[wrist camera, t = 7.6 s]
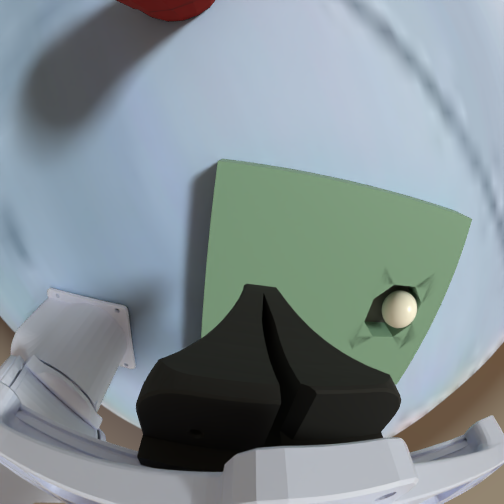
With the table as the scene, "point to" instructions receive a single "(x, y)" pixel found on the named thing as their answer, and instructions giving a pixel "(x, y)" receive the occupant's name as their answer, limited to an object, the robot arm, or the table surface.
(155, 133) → the table surface
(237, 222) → the putting board
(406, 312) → the ball
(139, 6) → the plastic cup
